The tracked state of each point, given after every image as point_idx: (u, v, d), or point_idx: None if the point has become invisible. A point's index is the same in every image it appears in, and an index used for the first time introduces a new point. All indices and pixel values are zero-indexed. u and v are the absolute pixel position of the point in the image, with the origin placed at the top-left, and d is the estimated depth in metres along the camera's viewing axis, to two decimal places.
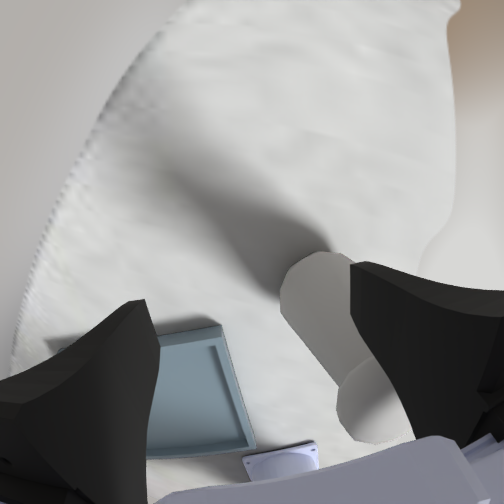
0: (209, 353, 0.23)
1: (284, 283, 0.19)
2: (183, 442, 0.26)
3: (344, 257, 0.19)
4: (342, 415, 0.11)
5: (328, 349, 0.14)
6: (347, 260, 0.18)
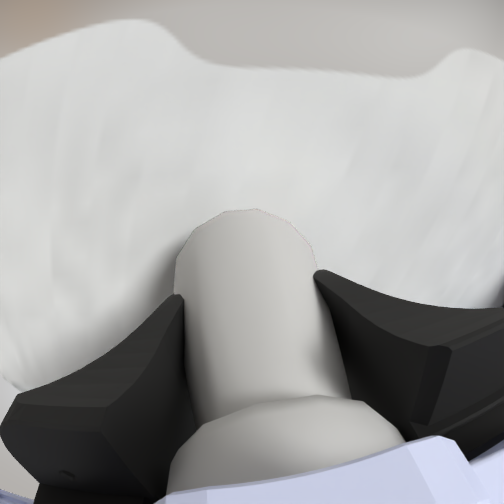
0: None
1: None
2: None
3: (176, 262, 0.12)
4: None
5: None
6: (178, 262, 0.12)
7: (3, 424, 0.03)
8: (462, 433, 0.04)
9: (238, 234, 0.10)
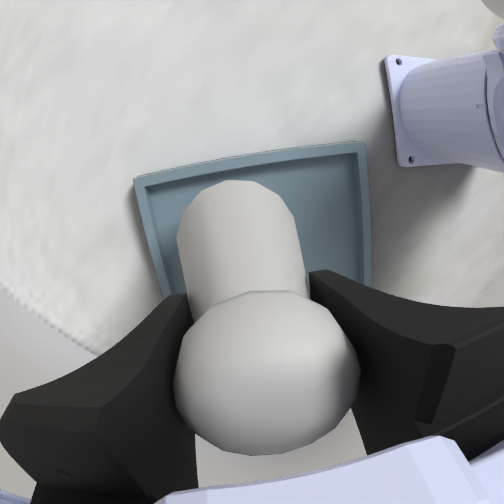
0: (171, 191, 0.19)
1: None
2: (348, 245, 0.21)
3: (182, 215, 0.14)
4: None
5: None
6: (184, 215, 0.14)
7: (0, 423, 0.03)
8: (465, 431, 0.04)
9: (237, 197, 0.13)
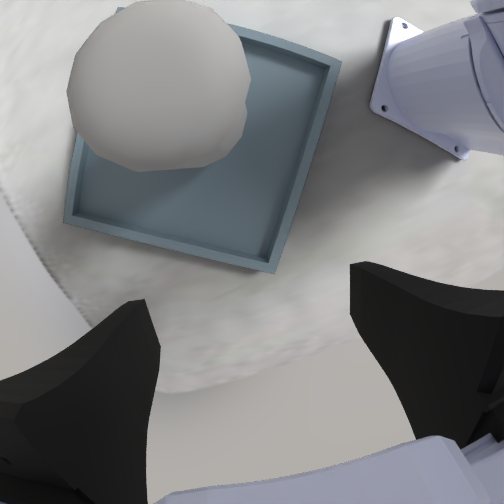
0: None
1: None
2: (286, 156, 0.19)
3: None
4: None
5: None
6: None
7: None
8: None
9: None
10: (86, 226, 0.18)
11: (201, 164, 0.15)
